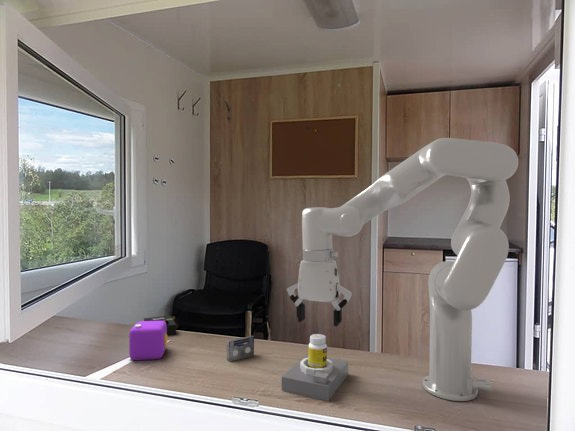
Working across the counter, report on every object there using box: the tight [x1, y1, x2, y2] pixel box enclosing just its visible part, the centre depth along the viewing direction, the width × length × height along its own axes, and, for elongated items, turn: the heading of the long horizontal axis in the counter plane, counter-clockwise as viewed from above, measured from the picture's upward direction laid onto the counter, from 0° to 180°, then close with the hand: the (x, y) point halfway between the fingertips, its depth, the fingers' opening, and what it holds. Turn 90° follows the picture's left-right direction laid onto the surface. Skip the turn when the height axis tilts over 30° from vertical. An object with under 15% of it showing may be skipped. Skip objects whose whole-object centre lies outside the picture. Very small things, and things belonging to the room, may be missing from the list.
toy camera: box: [128, 320, 169, 361], centre depth 118 cm, size 11×14×10 cm
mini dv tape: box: [226, 335, 255, 362], centre depth 115 cm, size 8×2×6 cm, turn 123°
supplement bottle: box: [308, 333, 328, 368], centre depth 99 cm, size 5×5×8 cm
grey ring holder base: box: [281, 353, 349, 402], centre depth 99 cm, size 12×16×5 cm
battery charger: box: [143, 314, 177, 337], centre depth 139 cm, size 13×10×4 cm
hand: (318, 322), depth 99 cm, fingers open, 9 cm apart
